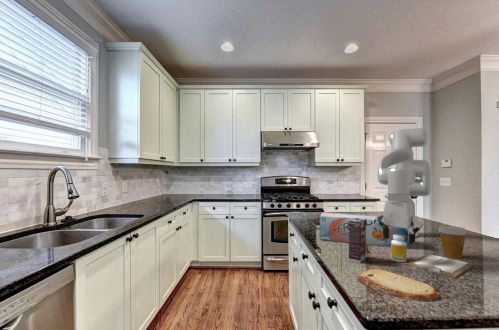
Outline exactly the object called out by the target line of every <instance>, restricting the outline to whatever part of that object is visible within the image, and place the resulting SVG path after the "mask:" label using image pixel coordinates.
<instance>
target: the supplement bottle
mask: <svg viewBox="0 0 499 330" xmlns="http://www.w3.org/2000/svg"><path fill="white" fill-rule="evenodd" d="M393 239H394V240H392V241H391V247H390V257H391V261H395V262H399V263H404V262H405V263H406V262H407V259H408V258H407V252H408V251H407V249H406V242H405V241H404V236H402V235H393Z"/></svg>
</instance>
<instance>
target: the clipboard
mask: <svg viewBox="0 0 499 330" xmlns="http://www.w3.org/2000/svg"><path fill="white" fill-rule="evenodd" d="M407 265H408V266H411V267H414V268H418V269H422V270H425V271H429V272H433V273H436V274H439V275H443V276H448V277H451V278H454V279H456V278H458V277H459V276H460V275H462V274H464V273H466V271H468V270H470V269H471V268H473V267H474V266H475V264H474V263H471V262H467V261H462V260H460V259H459V260H457V259H455V258H450V257H446V256H442V255H436V254H432V253H427V254H425V255H423V256H420V257H418V258H416V259H414V260H411V261H409V262H407Z"/></svg>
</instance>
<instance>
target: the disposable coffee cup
mask: <svg viewBox="0 0 499 330" xmlns="http://www.w3.org/2000/svg"><path fill="white" fill-rule="evenodd" d="M438 227H439V228H438V231H439V235H440V237H439V238H440V242H441V248H442V255H443V257H446V258H450V259H456V260H457V259H459V260H460V259H462V258H463V253H464V248H465V246H464V245H465V242H466V241H465V240H466V239H465V238H466V235H467V230H466V228H465V227H461V226H460V227H459V226H455V225H454V226H453V225H439V226H438Z"/></svg>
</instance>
